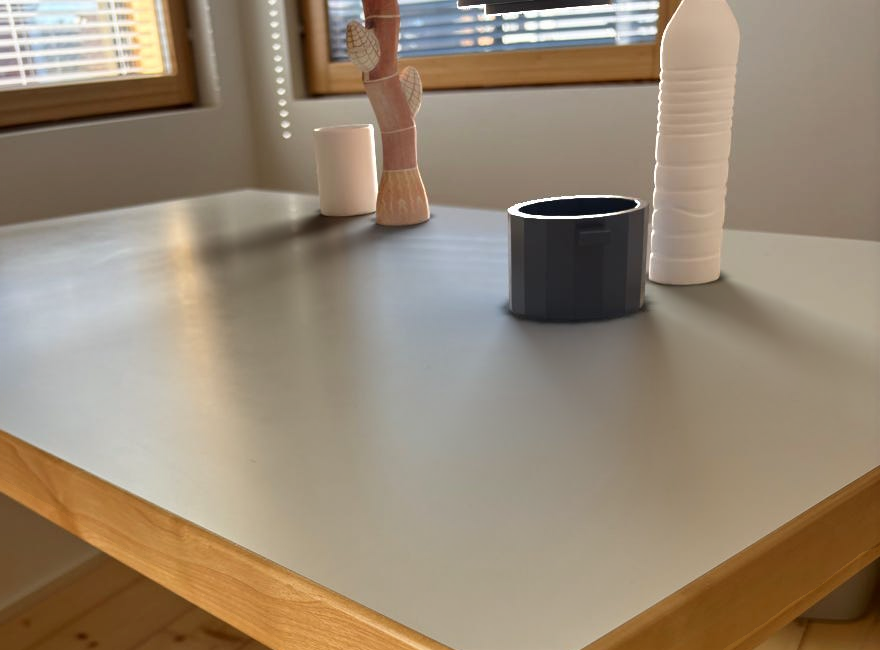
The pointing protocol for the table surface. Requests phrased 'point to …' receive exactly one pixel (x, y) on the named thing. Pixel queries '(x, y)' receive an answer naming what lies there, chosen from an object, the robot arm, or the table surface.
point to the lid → (528, 5)
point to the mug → (346, 169)
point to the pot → (577, 258)
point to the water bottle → (693, 142)
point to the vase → (390, 111)
